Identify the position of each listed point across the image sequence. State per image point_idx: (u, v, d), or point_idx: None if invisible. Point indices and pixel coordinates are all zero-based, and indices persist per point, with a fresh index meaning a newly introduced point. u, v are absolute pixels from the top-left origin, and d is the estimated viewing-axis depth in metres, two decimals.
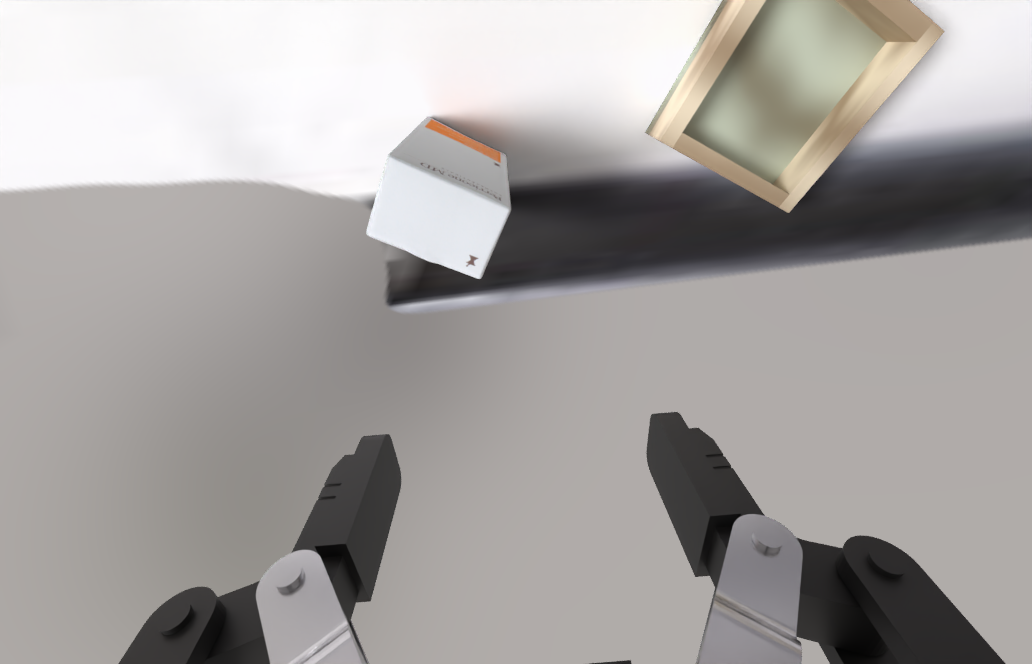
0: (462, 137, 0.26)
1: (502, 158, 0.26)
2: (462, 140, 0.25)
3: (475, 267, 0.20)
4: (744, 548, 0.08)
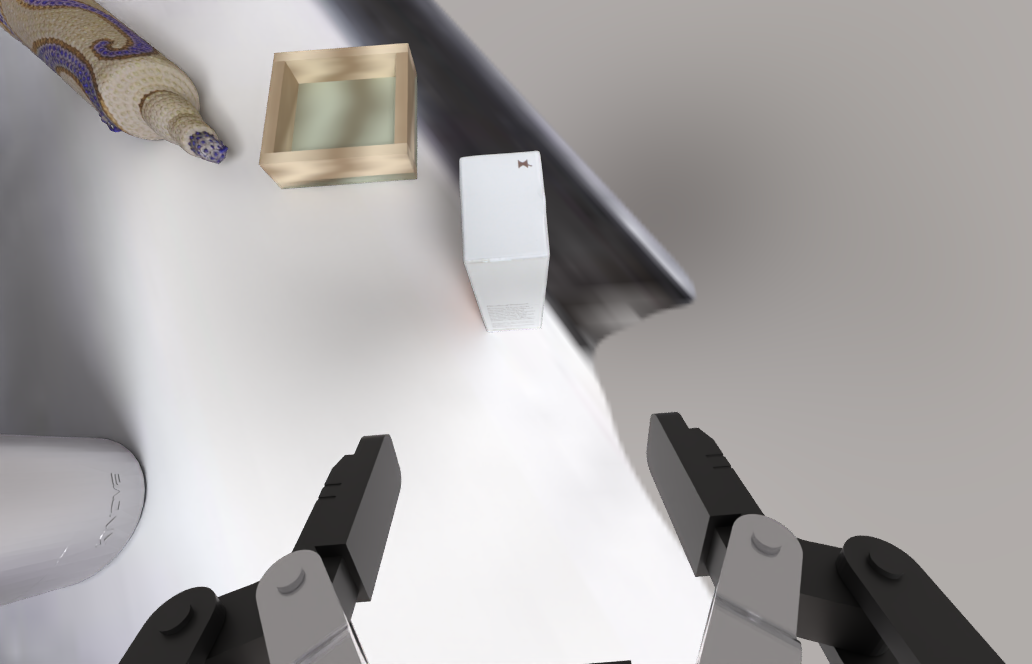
0: None
1: None
2: None
3: (528, 158, 0.20)
4: (744, 548, 0.08)
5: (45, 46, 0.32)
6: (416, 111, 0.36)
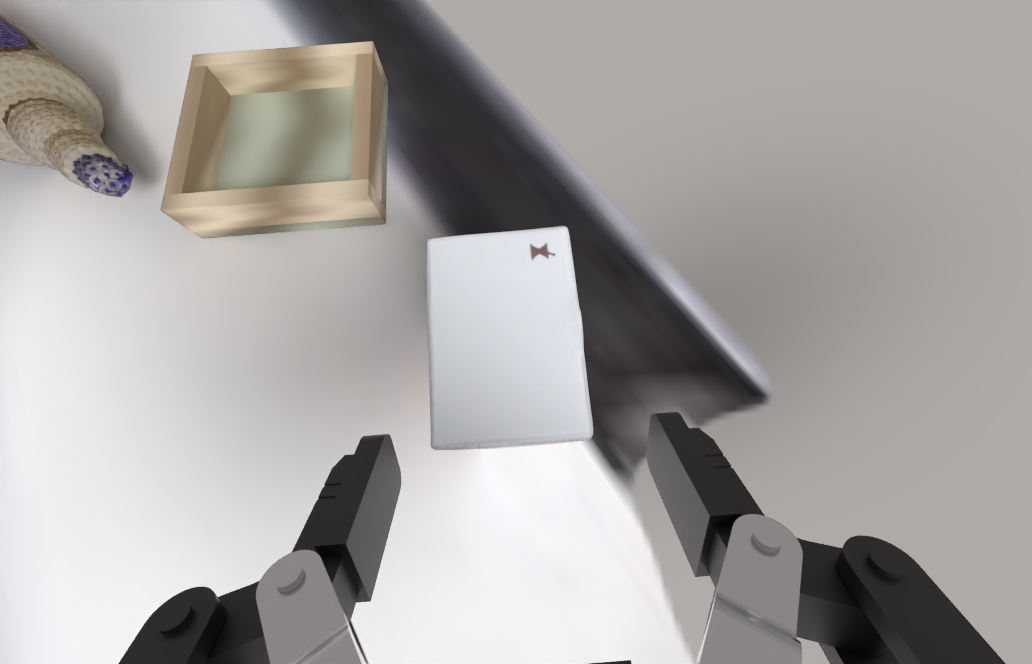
0: None
1: None
2: None
3: (548, 240, 0.11)
4: (744, 548, 0.08)
5: None
6: (386, 131, 0.27)
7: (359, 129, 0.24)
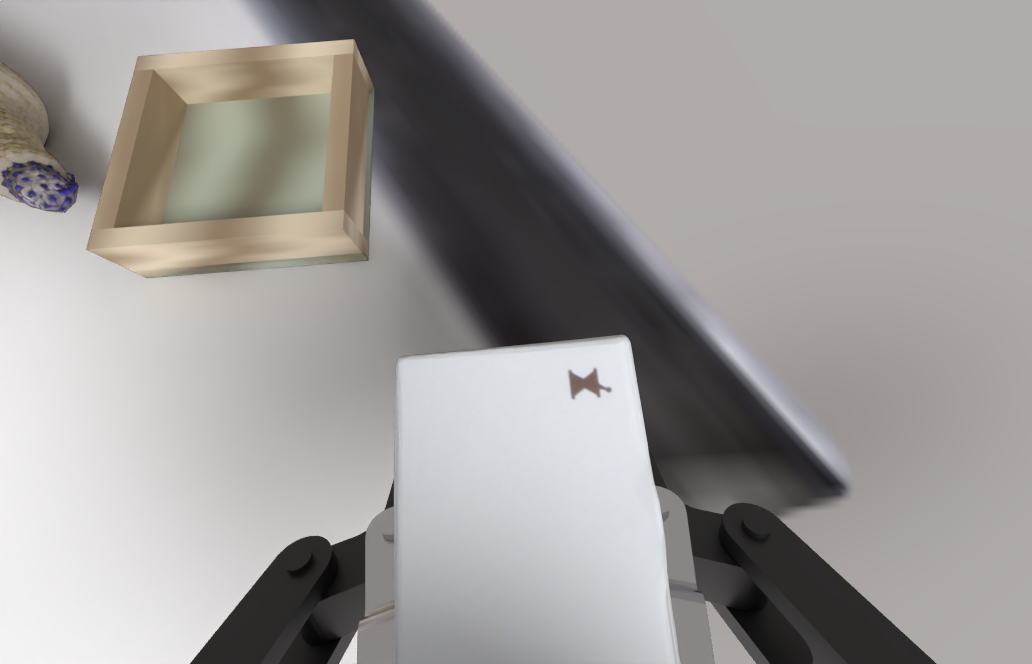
0: None
1: None
2: None
3: (599, 364, 0.07)
4: None
5: None
6: (371, 147, 0.23)
7: (334, 147, 0.19)
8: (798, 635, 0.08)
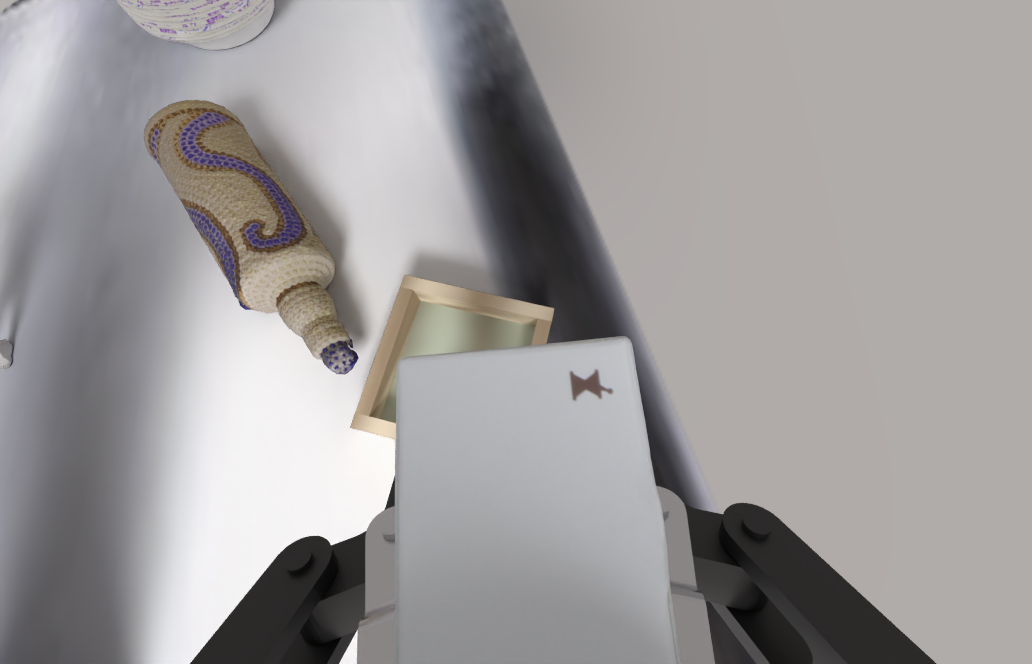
0: None
1: None
2: None
3: (601, 365, 0.07)
4: None
5: (194, 210, 0.29)
6: None
7: None
8: (798, 635, 0.08)
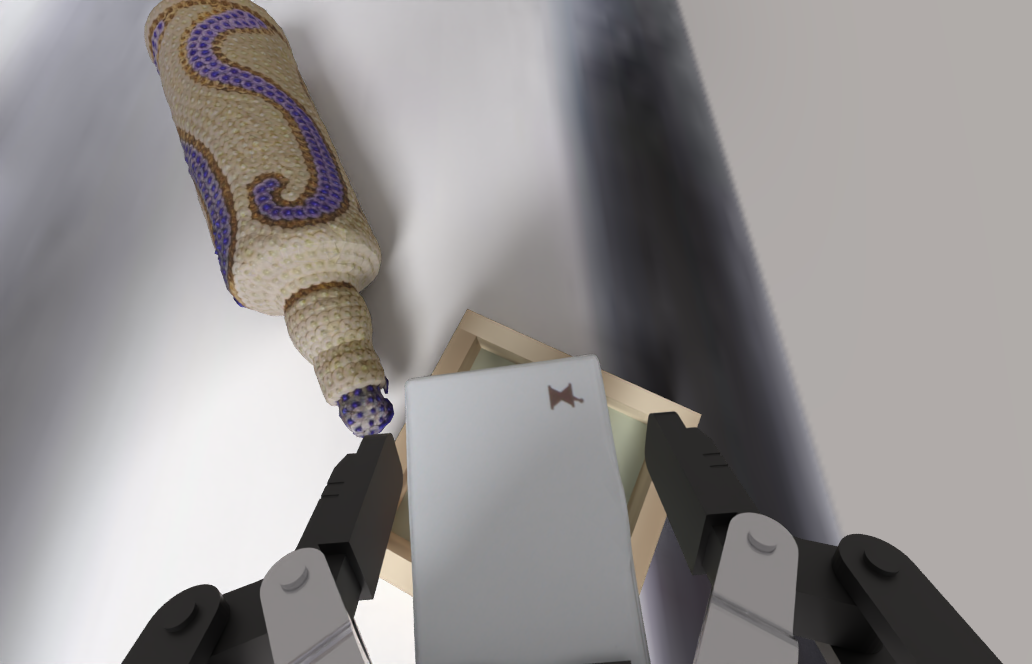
0: None
1: None
2: None
3: (573, 379, 0.08)
4: (740, 547, 0.08)
5: (189, 147, 0.19)
6: None
7: None
8: None
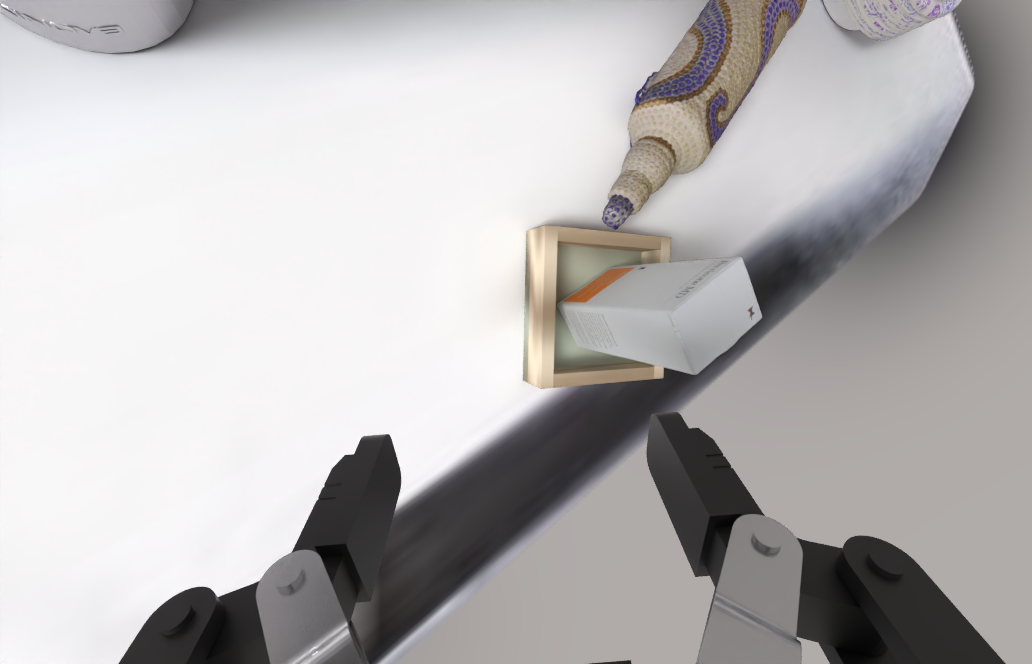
0: (592, 286, 0.30)
1: (622, 267, 0.31)
2: (601, 285, 0.29)
3: (755, 313, 0.23)
4: (744, 548, 0.08)
5: (724, 27, 0.29)
6: None
7: (593, 376, 0.30)
8: None
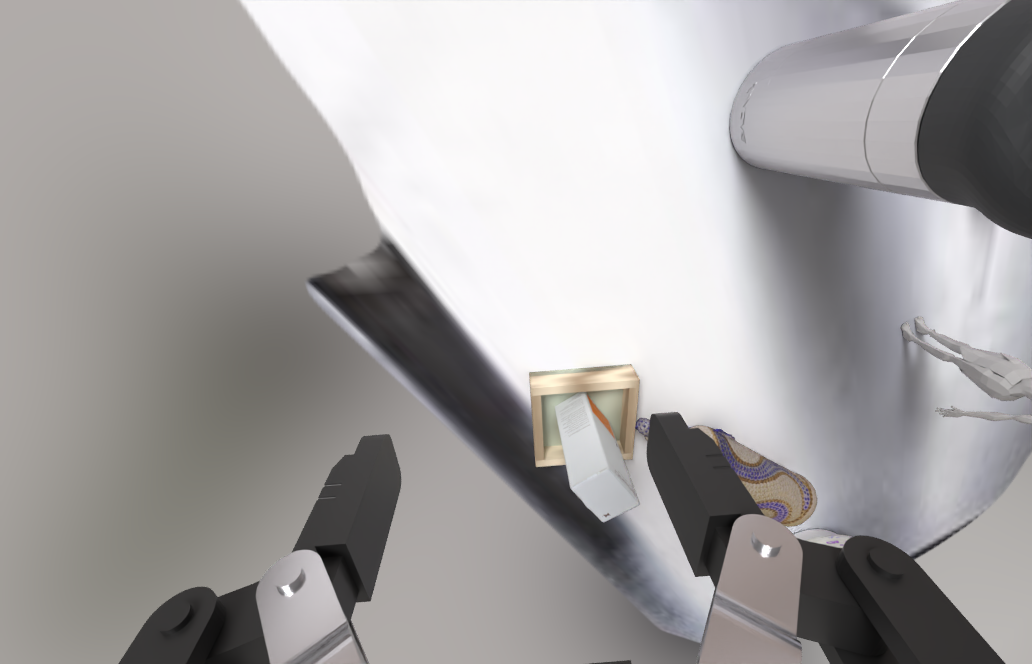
0: (599, 412, 0.45)
1: (612, 430, 0.45)
2: (601, 419, 0.44)
3: (605, 518, 0.38)
4: (744, 548, 0.08)
5: (763, 478, 0.46)
6: (532, 422, 0.48)
7: (538, 421, 0.44)
8: None
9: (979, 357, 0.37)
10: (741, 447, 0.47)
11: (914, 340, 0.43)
